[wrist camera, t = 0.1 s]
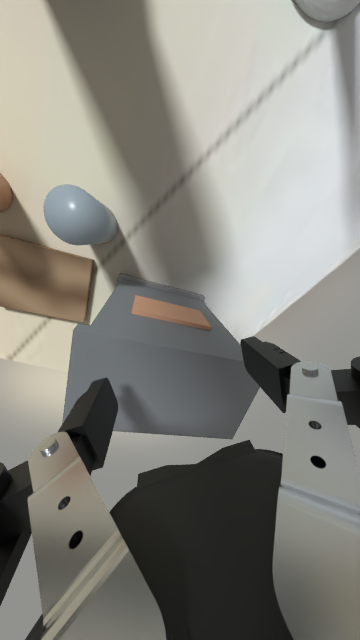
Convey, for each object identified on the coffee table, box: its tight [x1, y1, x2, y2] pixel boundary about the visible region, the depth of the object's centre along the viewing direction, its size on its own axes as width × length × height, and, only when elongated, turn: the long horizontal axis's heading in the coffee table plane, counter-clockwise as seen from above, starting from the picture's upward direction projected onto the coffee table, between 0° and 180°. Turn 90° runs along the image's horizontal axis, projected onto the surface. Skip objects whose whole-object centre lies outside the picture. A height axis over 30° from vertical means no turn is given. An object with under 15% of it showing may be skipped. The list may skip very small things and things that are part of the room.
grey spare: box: [44, 185, 117, 245], centre depth 23 cm, size 5×5×10 cm
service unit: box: [62, 274, 260, 439], centre depth 24 cm, size 8×14×20 cm, turn 74°
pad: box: [0, 235, 94, 323], centre depth 29 cm, size 10×12×1 cm
